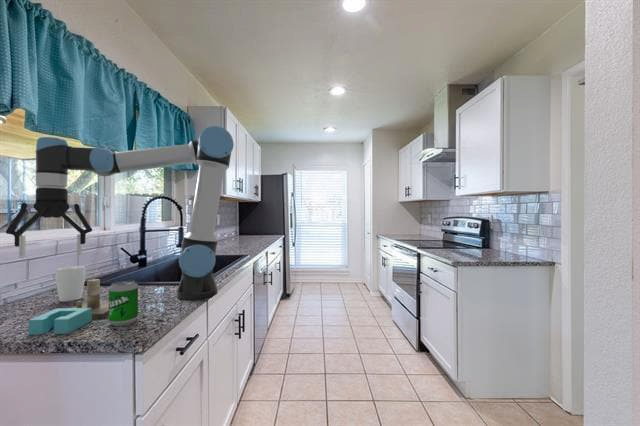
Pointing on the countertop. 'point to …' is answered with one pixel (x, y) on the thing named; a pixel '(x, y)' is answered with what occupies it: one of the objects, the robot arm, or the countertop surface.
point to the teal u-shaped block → (60, 320)
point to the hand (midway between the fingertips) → (51, 256)
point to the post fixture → (94, 300)
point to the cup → (70, 282)
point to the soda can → (123, 303)
